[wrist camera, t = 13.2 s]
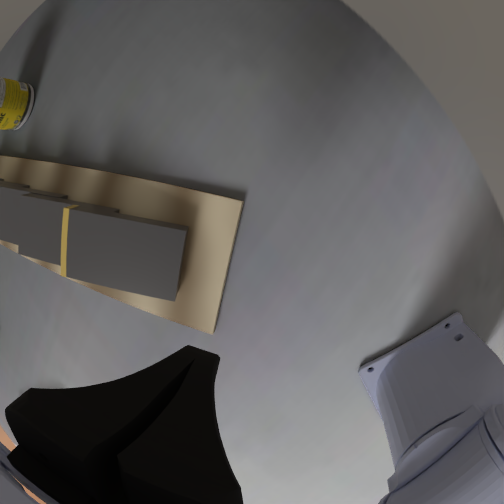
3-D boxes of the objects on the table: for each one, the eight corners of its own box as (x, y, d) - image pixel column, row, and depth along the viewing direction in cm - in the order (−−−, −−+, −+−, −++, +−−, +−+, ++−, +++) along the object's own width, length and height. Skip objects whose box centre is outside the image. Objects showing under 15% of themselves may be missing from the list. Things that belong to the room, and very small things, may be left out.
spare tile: (186, 230, 18) (63, 207, 17) (174, 301, 20) (60, 275, 18) (188, 225, 20) (73, 204, 18) (177, 292, 21) (70, 268, 20)
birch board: (244, 201, 20) (242, 201, 19) (214, 331, 22) (212, 334, 21) (-14, 153, 23) (-17, 153, 22) (-19, 230, 25) (-22, 230, 25)
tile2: (112, 212, 19) (20, 195, 18) (106, 277, 20) (18, 253, 19) (119, 209, 20) (30, 193, 19) (112, 270, 22) (28, 248, 20)
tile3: (58, 197, 20) (-9, 185, 18) (54, 255, 21) (-11, 236, 19) (67, 195, 21) (0, 183, 20) (63, 250, 22) (-2, 232, 21)
